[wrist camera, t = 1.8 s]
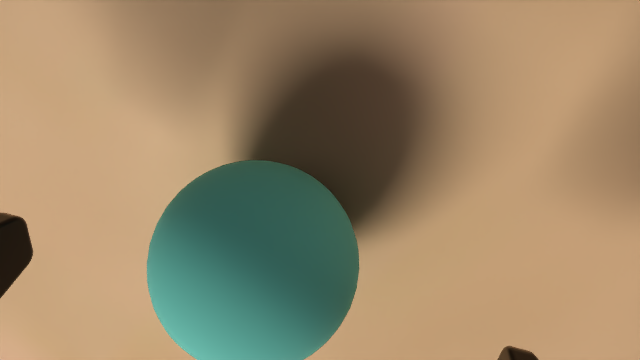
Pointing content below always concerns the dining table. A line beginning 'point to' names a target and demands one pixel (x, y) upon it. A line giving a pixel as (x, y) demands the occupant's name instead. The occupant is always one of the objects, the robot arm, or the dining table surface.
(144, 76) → the dining table surface
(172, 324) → the bead
